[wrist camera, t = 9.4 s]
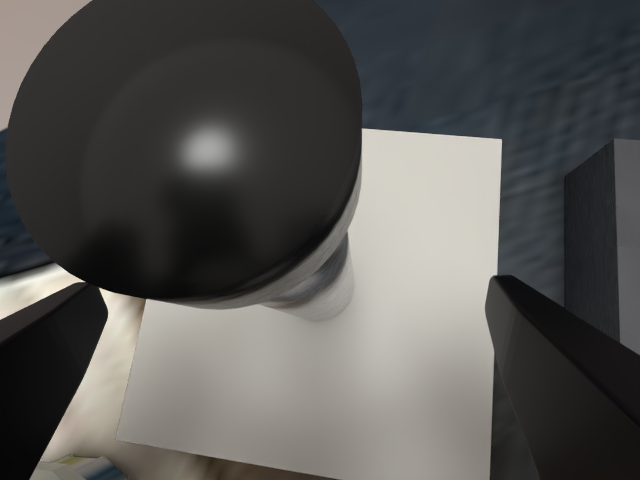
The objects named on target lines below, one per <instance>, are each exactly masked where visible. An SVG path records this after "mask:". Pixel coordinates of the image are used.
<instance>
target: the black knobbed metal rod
mask: <svg viewBox="0 0 640 480" xmlns="http://www.w3.org/2000/svg"><path fill="white" fill-rule="evenodd" d="M6 170H7V177H8V183H9V188H10V192H11V195H12V198H13V201H14V205H15V208H16V210H17V212H18V214H19V216H20V218H21V220H22V222H23V224H24V226H25V228H26V229H27V231H28V232H29V233H30V235H31V236H32V238H33V239H34V241H35V242H36V244H37V245H38V246H39V247H40V248H41V249H42V250H43V251H44V252H45V253H46V254H47V255H48V256H49V257H50V258H51V259H52V260H53V261H54V262H56V263H57V264H58V265H59V266H61V267H62V268H63V269H65V270H66V271H67V272H69V273H70V274H72V275H74V276H76V277H78V278H79V279H81V280H83V281H85V282H87V283H89V284H91V285H94V286H96V287H99V288H102V289H105V290H108V291H110V292H114V293H119V294H124V295H129V296H134V297H139V298H144V299H150V300H155V301H161V302H166V303H172V304H177V305H183V306H188V307H194V308H199V309H212V310H225V309H237V308H242V307H247V306H252V305H256V304H259V305H262V306H265V307H268V308H271V309H274V310H278V311H281V312H284V313H287V314H290V315H293V316H296V317H299V318H302V319H305V320H308V321H314V322H320V321H326V320H329V319H332V318H334V317H336V316H338V315H339V314H340V313H341V312H343V311H344V310H345V308H346V307H347V306H348V304H349V303H350V301H351V299H352V296H353V293H354V284H355V283H354V274H353V267H352V259H351V251H350V244H349V236H348V228H349V225H350V223H351V221H352V219H353V216H354V213H355V210H356V207H357V204H358V200H359V195H360V189H361V181H362V98H361V88H360V80H359V76H358V72H357V69H356V65H355V61H354V58H353V56H352V54H351V51H350V49H349V47H348V44H347V42H346V40H345V39H344V37H343V35H342V34H341V32H340V31H339V29H338V27H337V26H336V24H335V23H334V22H333V20H332V19H331V18H330V17H329V16H328V15H327V13H326V12H325V11H324V10H323V9H322V8H321V7H320V6H319V5H318V4H317V3H316V2H314V1H313V0H92V1H91V2H89V3H88V4H87V5H86V6H84V7H83V8H82V9H80V10H79V11H78V12H77V13H76V14H74V15H73V16H72V17H71V18H70V19H69V20H68V21H67V22H65V23H64V24H63V25H62V26H61V27H60V28H59V29H58V30H57V31H56V33H55V34H54V35H53V36H52V37H51V38H50V40H49V41H48V42H47V43H46V45H44V47H43V48H42V50H41V51H40V53H39V54H38V56H37V57H36V59H35V60H34V62H33V63H32V64H31V66H30V68H29V70H28V72H27V74H26V76H25V78H24V79H23V81H22V83H21V86H20V88H19V91H18V93H17V96H16V99H15V101H14V104H13V108H12V112H11V115H10V119H9V124H8V131H7V139H6Z"/></svg>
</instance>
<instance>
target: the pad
mask: <svg viewBox="0 0 640 480" xmlns="http://www.w3.org/2000/svg"><path fill="white" fill-rule="evenodd" d="M501 149H502V139H489V138H477V137H464V136H451V135H438V134H425V133H412V132H399V131H386V130H373V129H362V181H361V189H360V195H359V200H358V204H357V207H356V210H355V213H354V216H353V219H352V221H351V223H350V225H349V228H348V236H349V244H350V251H351V259H352V267H353V274H354V283H355V284H354V293H353V296H352V299H351V301H350V303H349V304H348V306H347V307H346V308H345V310H344V311H343V312H341V313H340V314H339V315H338V316H336V317H334V318H332V319H329V320H326V321H320V322H314V321H308V320H305V319H302V318H299V317H296V316H293V315H290V314H287V313H284V312H281V311H278V310H274V309H271V308H268V307H265V306H262V305H259V304H256V305H252V306H247V307H242V308H237V309H225V310H212V309H199V308H194V307H188V306H183V305H177V304H172V303H166V302H161V301H155V300H150V299H147V300H146V304H145V309H144V313H143V317H142V322H141V326H140V331H139V335H138V340H137V344H136V348H135V353H134V357H133V362H132V366H131V370H130V375H129V379H128V384H127V388H126V393H125V397H124V401H123V406H122V410H121V415H120V419H119V423H118V428H117V432H116V437H115V440H119V441H124V442H130V443H136V444H141V445H147V446H153V447H158V448H164V449H170V450H175V451H181V452H187V453H192V454H198V455H204V456H209V457H215V458H221V459H226V460H232V461H238V462H243V463H249V464H255V465H260V466H266V467H272V468H277V469H283V470H289V471H294V472H300V473H306V474H311V475H317V476H323V477H328V478H334V479H340V480H490V455H491V427H492V399H493V371H494V348H493V344H492V340H491V336H490V332H489V328H488V324H487V320H486V316H485V302H486V296H487V290H488V285H489V280H490V278H491V277H492V276H493V275H497V260H498V232H499V204H500V177H501Z"/></svg>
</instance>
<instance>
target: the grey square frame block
mask: <svg viewBox="0 0 640 480" xmlns="http://www.w3.org/2000/svg"><path fill="white" fill-rule="evenodd" d="M565 309H567V310H568V311H570V312H572V313H573V314H575V315H576V316H578V317H580V318H581V319H583V320H584V321H586V322H588V323H589V324H591V325H592V326H594V327H596V328H597V329H599V330H600V331H602V332H604V333H605V334H607V335H608V336H610V337H612V338H613V339H615V340H616V341H618V342H620V343H621V344H623V345H624V346H626V347H628V348H629V349H631V350H632V351H634V352H636V353H637V354H639V355H640V140H626V139H613V140H611V141H610V142H609V143H608V144H606V145H605V146H604V147H603V148H601V149H600V150H599V151H597V152H596V153H595V154H594V155H592V156H591V157H590V158H588V159H587V160H586V161H585V162H583V163H582V164H581V165H579V166H578V167H577V168H576V169H574V170H573V171H572V172H570V173H569V174H568V175H567V176H565Z"/></svg>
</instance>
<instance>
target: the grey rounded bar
mask: <svg viewBox="0 0 640 480" xmlns="http://www.w3.org/2000/svg"><path fill="white" fill-rule="evenodd" d="M30 480H128V479H127V476H126V474H124V473H123V472H122V471H121V470H120V469H118V468H117V467H116V466H115V465H113V464H112V463H111V462H110V461H109V460H107V459H106V458H105V457H104V456H101V457H99V458H97V459H96V458H83V457H74V456H73V454H70V455H68V456H66V457H63V458H61V459H59V460H56V461H54V462H51V463H50V462H39V463H38V465H37V467H36V469H35V470H34V472H33V474H32V476H31V478H30Z"/></svg>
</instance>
